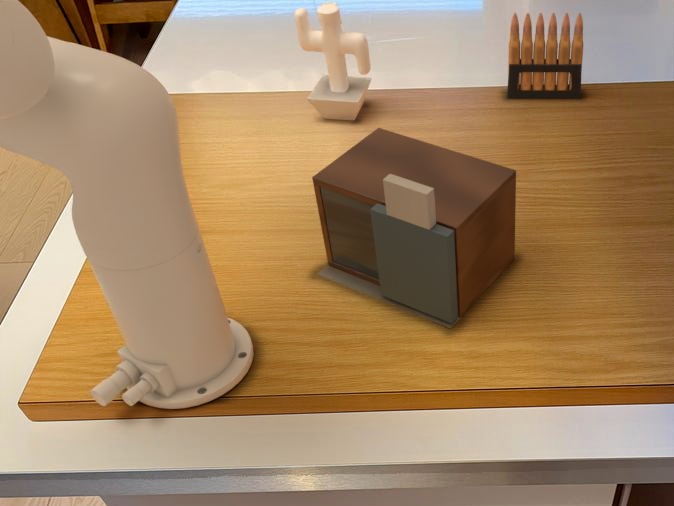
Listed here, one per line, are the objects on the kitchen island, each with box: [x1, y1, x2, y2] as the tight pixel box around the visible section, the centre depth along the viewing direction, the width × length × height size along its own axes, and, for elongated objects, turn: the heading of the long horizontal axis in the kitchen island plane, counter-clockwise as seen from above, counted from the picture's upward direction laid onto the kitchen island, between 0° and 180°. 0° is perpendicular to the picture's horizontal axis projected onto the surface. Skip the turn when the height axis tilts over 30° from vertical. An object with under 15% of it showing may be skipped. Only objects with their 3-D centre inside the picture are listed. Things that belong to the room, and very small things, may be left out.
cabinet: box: [311, 127, 517, 330], centre depth 88 cm, size 14×18×12 cm
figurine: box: [294, 1, 372, 122], centre depth 112 cm, size 7×9×15 cm
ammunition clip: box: [506, 12, 584, 100], centre depth 116 cm, size 11×2×12 cm, turn 88°
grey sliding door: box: [370, 174, 458, 324], centre depth 81 cm, size 1×9×15 cm, turn 59°
